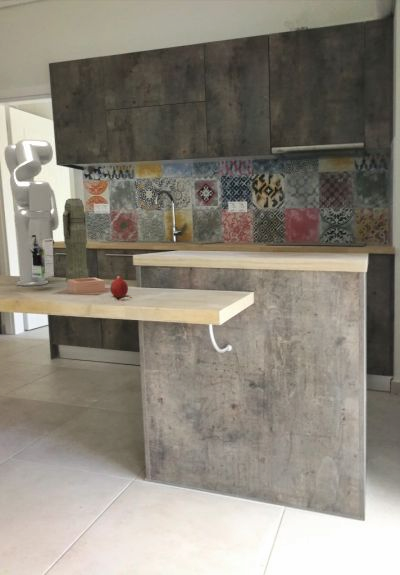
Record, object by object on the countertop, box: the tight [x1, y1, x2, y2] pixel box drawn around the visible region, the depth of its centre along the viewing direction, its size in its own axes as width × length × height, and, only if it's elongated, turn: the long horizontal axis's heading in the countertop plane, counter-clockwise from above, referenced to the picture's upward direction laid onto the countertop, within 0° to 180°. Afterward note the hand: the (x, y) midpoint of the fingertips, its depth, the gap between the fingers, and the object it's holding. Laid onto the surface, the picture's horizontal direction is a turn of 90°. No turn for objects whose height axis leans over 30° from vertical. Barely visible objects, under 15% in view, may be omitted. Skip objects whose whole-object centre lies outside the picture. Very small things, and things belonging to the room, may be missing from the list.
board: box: [51, 287, 111, 296], centre depth 194 cm, size 18×18×1 cm
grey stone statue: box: [62, 198, 90, 283], centre depth 212 cm, size 9×12×35 cm
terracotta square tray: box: [66, 277, 106, 294], centre depth 194 cm, size 11×11×4 cm
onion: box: [110, 275, 129, 301], centre depth 181 cm, size 6×6×8 cm
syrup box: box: [32, 237, 55, 279], centre depth 198 cm, size 6×6×14 cm
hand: (42, 264), depth 198 cm, fingers closed on syrup box, 6 cm apart
